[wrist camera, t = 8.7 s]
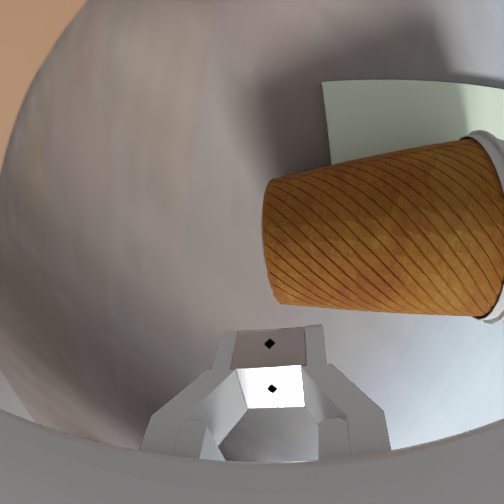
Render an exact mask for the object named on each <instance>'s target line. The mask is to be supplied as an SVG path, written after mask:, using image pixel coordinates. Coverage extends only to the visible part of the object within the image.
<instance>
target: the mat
mask: <svg viewBox="0 0 504 504" xmlns="http://www.w3.org/2000/svg"><path fill="white" fill-rule="evenodd" d="M321 84H322V91H323V98H324V105H325V113H326V121H327V129H328V138H329V147H330V157H331V165H333V164H337V163H342V162H346V161H350V160H356V159H360V158H364V157H370V156H374V155H380V154H384V153H388V152H395V151H399V150H404V149H409V148H415V147H421V146H426V145H432V144H437V143H444V142H449V141H457V140H459V139H460V138H461V137H463V136H466V135H469V134H470V133H471V132H472V131H476V130H484V131H488V132H489V133H491V134H492V135H494V136H495V137H496V138H498V139H501V140H504V89H498V88H492V87H485V86H478V85H470V84H460V83H450V82H438V81H421V80H345V81H327V82H321Z"/></svg>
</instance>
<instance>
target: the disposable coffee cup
mask: <svg viewBox="0 0 504 504" xmlns="http://www.w3.org/2000/svg"><path fill="white" fill-rule="evenodd" d="M261 227H262V241H263V253H264V260H265V268H266V271H267V275H268V278H269V282H270V286H271V289H272V292H273V294H274V296H275V298H276V299H277V301H278V302H279V303H280V304H288V305H299V306H310V307H322V308H334V309H346V310H359V311H372V312H389V313H406V314H427V315H452V316H472V317H473V318H475V319H477V320H482V321H484V322H485V323H489V324H494V323H499V322H501V321H503V320H504V140H501V139H498V138H496V137H495V136H494V135H492V134H491V133H489V132H488V131H484V130H476V131H472V132H471V133H470V134H469V135H466V136H463V137H461V138H460V139H459V140H457V141H449V142H444V143H437V144H432V145H426V146H421V147H415V148H409V149H404V150H399V151H395V152H388V153H384V154H380V155H374V156H370V157H364V158H360V159H356V160H350V161H346V162H342V163H337V164H333V165H329V166H324V167H320V168H317V169H312V170H308V171H304V172H299V173H296V174H292V175H288V176H284V177H280V178H276V179H272V180H270V181H269V183H268V185H267V187H266V190H265V194H264V200H263V207H262V225H261Z"/></svg>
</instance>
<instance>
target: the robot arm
mask: <svg viewBox="0 0 504 504" xmlns="http://www.w3.org/2000/svg"><path fill="white" fill-rule="evenodd" d="M295 406H304V408H305V409H306V411H307V412H308V413H309V415H310V416H311V417H312V419H313V420H314V421H315V423H316V424H317V425H318V435H319V449H318V460H311V461H291V462H240V461H226V460H225V459H224V457H223V455H222V453H221V451H220V450H219V448H218V445H219V444H220V443H221V441H222V440H223V439H224V438H225V437H226V436H227V434H228V433H229V432H230V431H231V430H232V428H233V427H234V426H235V425H236V424H237V422H238V421H239V420H240V419H241V417H242V416H243V415H244V414H245V412H246V411H247V410H248V409H247V408H266V407H295ZM0 504H504V418H503V419H501V420H498V421H495V422H493V423H490V424H487V425H485V426H482V427H479V428H476V429H473V430H470V431H467V432H464V433H460V434H457V435H454V436H450V437H447V438H443V439H439V440H436V441H432V442H428V443H424V444H419V445H415V446H411V447H406V448H401V449H396V450H391V447H390V441H389V436H388V430H387V425H386V420H385V415H384V411H383V410H382V409H381V408H380V407H379V406H378V405H377V404H376V403H374V402H373V401H372V400H371V399H370V398H369V397H368V396H367V395H366V394H364V393H363V392H362V391H361V390H360V389H359V388H358V387H357V386H356V385H355V384H353V383H352V382H351V381H350V380H349V379H348V378H347V377H346V376H345V375H344V374H343V373H341V372H340V371H339V370H338V369H337V368H336V367H335V366H334V365H333V364H327V362H326V353H325V343H324V335H323V326H322V325H321V324H320V325H311V326H305V327H294V328H282V329H268V330H241V331H223V332H222V333H221V335H220V338H219V342H218V346H217V350H216V353H215V357H214V361H213V365H212V369H211V370H206V371H205V372H203V373H202V374H201V375H200V376H199V377H198V378H196V379H195V380H194V381H193V382H192V383H191V384H189V385H188V386H187V387H186V388H185V389H183V390H182V391H181V392H180V393H179V394H177V395H176V396H175V397H174V398H173V399H171V400H170V401H169V402H168V403H166V404H165V405H164V406H163V407H162V408H160V409H159V410H158V411H157V412H155V413H154V414H153V415H152V416H151V418H150V421H149V424H148V427H147V429H146V432H145V435H144V437H143V440H142V443H141V446H140V448H139V451H138V450H133V449H128V448H123V447H118V446H114V445H109V444H105V443H101V442H97V441H93V440H89V439H85V438H82V437H78V436H75V435H71V434H68V433H65V432H61V431H58V430H55V429H52V428H49V427H46V426H43V425H40V424H37V423H35V422H32V421H29V420H26V419H24V418H21V417H19V416H16V415H14V414H11V413H9V412H6V411H4V410H2V409H0Z"/></svg>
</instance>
